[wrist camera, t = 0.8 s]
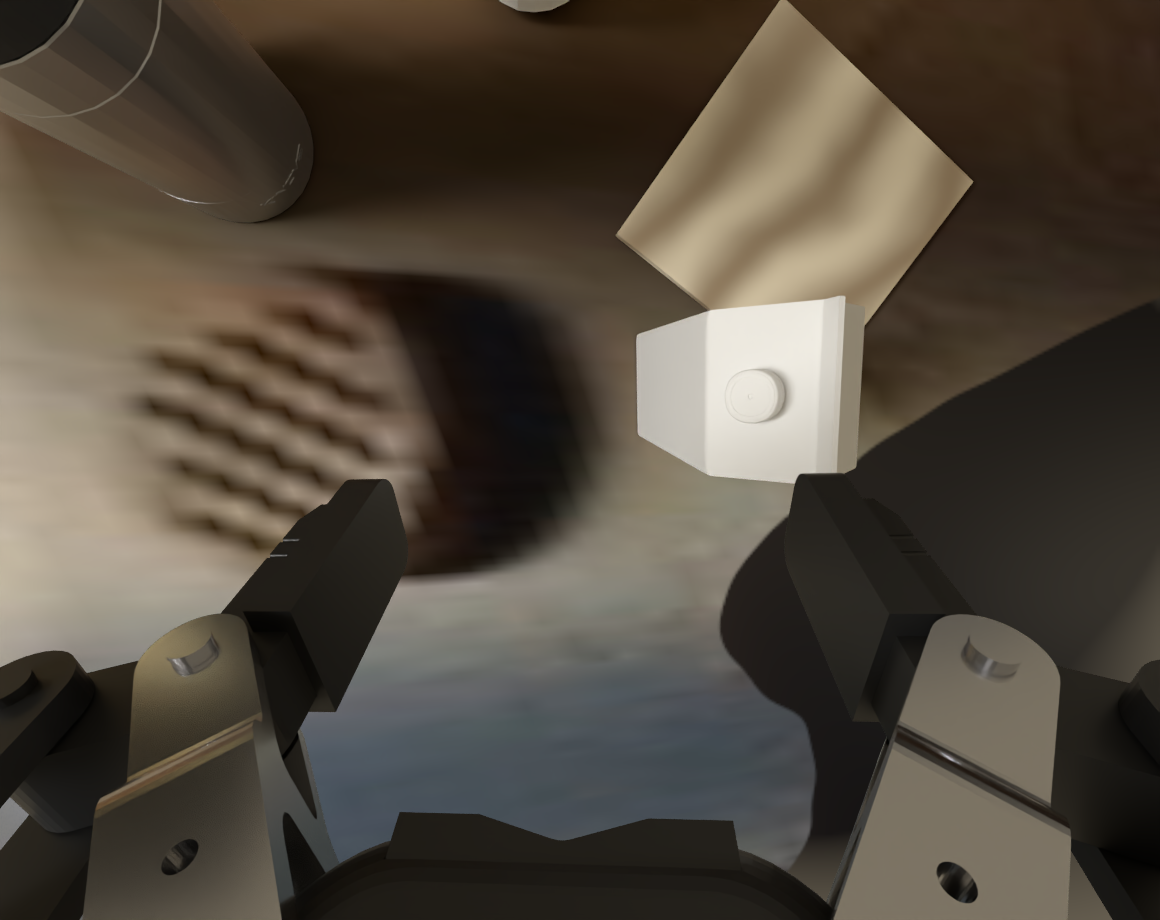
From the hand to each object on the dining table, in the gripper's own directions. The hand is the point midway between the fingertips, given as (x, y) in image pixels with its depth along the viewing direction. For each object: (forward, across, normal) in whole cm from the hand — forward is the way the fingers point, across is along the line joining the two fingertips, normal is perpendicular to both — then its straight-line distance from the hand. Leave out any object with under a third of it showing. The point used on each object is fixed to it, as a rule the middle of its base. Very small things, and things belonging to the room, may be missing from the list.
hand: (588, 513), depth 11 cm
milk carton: (+27, -6, +9) cm, 29 cm away
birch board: (+32, -13, -2) cm, 35 cm away
